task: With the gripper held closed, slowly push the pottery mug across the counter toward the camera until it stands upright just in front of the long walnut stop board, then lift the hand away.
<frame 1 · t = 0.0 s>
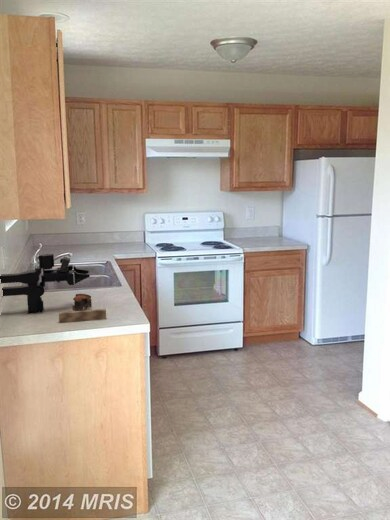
hand: (89, 273, 224), 17 cm above the countertop, tool horizontal, fingers open, 9 cm apart
pottery mug: (83, 309, 225), on the countertop
walnut stop board: (82, 320, 207), on the countertop
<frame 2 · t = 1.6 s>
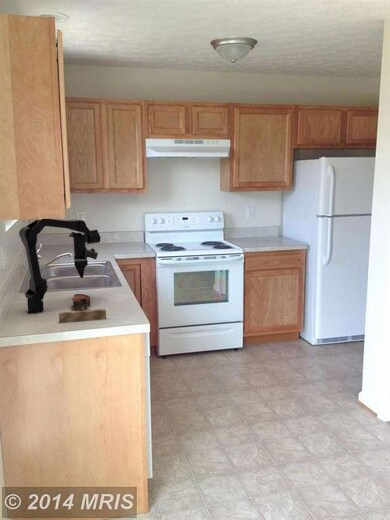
hand: (81, 276, 234), 13 cm above the countertop, tool pointing down, fingers open, 8 cm apart
nothing on the countertop moved.
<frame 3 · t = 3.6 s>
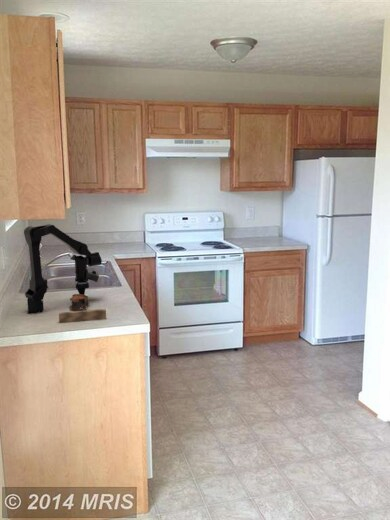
hand: (82, 298, 236), 2 cm above the countertop, tool pointing down, fingers closed
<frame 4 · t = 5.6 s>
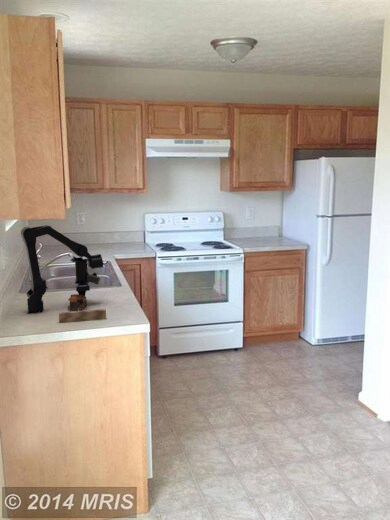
hand: (83, 301, 231), 2 cm above the countertop, tool pointing down, fingers closed
pottery mug: (78, 309, 224), on the countertop, touching gripper
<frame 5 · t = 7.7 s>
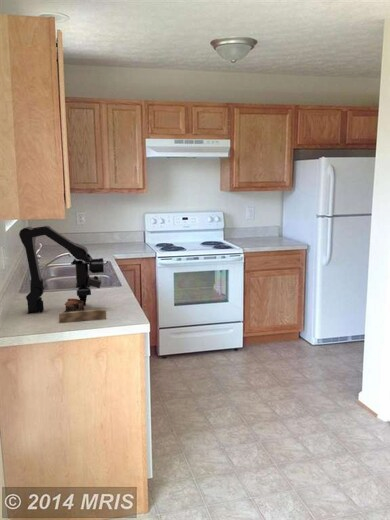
hand: (84, 305, 223), 2 cm above the countertop, tool pointing down, fingers closed
pottery mug: (75, 314, 216), on the countertop, touching gripper
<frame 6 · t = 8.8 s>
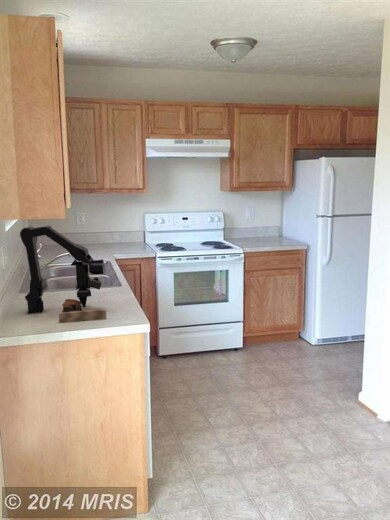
hand: (84, 307, 221), 2 cm above the countertop, tool pointing down, fingers closed
pottery mug: (72, 315, 215), on the countertop, touching gripper
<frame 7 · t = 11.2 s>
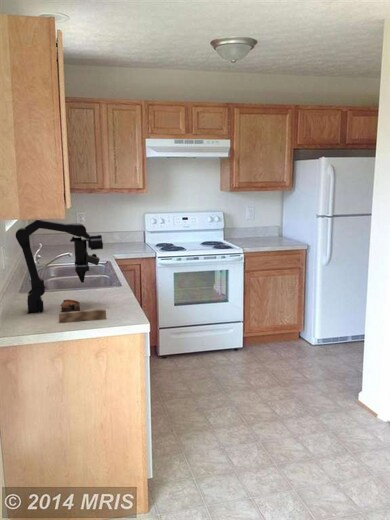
hand: (82, 282, 225), 12 cm above the countertop, tool pointing down, fingers closed
pottery mug: (71, 315, 215), on the countertop
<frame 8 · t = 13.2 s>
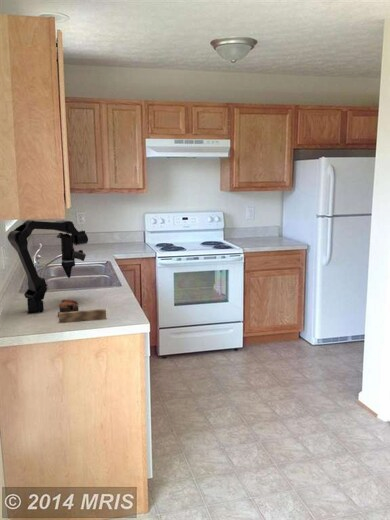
hand: (69, 277, 232), 13 cm above the countertop, tool pointing down, fingers closed
nothing on the countertop moved.
at the end: pottery mug inside the target area (6.7 cm from its centre), on the countertop; pottery mug tilted 1° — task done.
